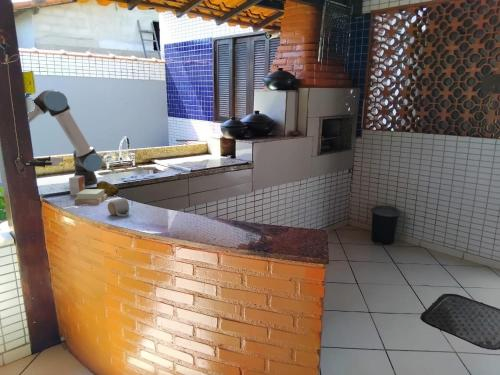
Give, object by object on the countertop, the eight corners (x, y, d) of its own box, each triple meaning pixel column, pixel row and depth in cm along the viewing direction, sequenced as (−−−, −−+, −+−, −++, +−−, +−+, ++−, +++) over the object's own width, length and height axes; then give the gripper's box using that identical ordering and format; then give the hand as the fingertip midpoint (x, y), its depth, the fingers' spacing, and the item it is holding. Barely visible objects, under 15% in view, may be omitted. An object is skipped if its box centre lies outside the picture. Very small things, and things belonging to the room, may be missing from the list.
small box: (79, 195, 216) (78, 178, 214) (70, 195, 216) (68, 178, 214) (85, 192, 224) (84, 175, 222) (76, 192, 224) (75, 175, 222)
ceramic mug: (107, 214, 182) (106, 199, 180) (122, 210, 188) (121, 196, 186) (118, 219, 175) (117, 203, 173) (133, 215, 181) (132, 200, 180)
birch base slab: (85, 198, 212) (84, 193, 212) (107, 198, 213) (107, 193, 212) (75, 204, 200) (74, 199, 199) (99, 204, 200) (98, 199, 199)
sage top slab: (85, 194, 210) (84, 189, 210) (104, 194, 211) (104, 189, 210) (77, 199, 200) (76, 193, 199) (97, 199, 200) (96, 193, 199)
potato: (109, 197, 213) (108, 184, 211) (94, 194, 219) (93, 181, 217) (120, 194, 220) (119, 181, 218) (106, 191, 226) (105, 179, 224)
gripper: (25, 165, 218) (64, 164, 224) (13, 172, 195) (57, 171, 201) (24, 152, 216) (63, 152, 223) (11, 158, 193) (56, 158, 200)
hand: (60, 161), depth 212 cm, fingers open, 13 cm apart
